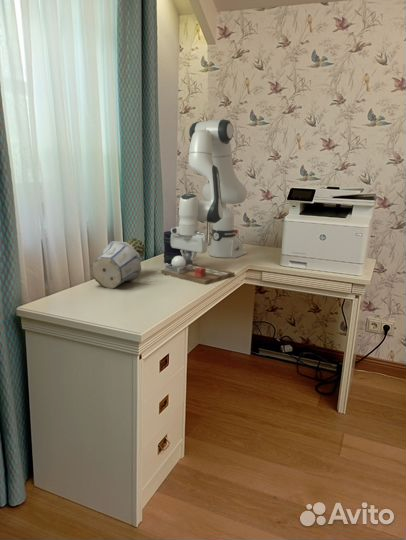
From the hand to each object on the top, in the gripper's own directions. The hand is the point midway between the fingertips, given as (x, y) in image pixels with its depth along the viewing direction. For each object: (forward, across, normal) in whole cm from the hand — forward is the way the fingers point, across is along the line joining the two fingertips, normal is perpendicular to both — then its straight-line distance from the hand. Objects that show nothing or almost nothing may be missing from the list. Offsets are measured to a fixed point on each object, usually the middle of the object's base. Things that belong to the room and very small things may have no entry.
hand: (188, 259), depth 199 cm
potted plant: (+4, +5, +34) cm, 34 cm away
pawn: (+2, 0, 0) cm, 2 cm away
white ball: (+3, -3, +10) cm, 10 cm away
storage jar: (+5, +16, -6) cm, 18 cm away
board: (+4, -10, +5) cm, 12 cm away
